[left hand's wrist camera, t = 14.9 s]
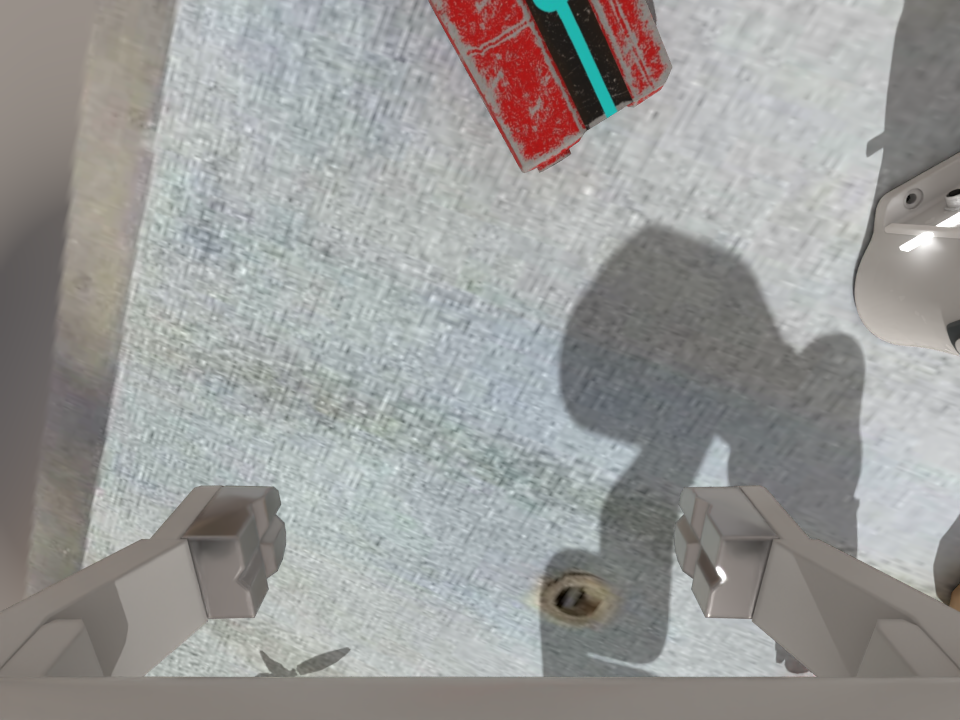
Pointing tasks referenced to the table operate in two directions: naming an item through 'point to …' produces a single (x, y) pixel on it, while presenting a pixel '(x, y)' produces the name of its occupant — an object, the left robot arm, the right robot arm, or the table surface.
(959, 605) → the squash
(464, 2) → the gun
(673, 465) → the table surface
